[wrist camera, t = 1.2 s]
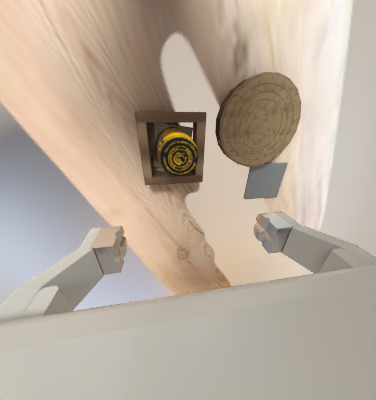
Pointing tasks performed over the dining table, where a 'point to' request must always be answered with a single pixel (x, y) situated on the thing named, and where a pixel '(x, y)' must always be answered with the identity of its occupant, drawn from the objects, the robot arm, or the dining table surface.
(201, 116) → the holder
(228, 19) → the dining table surface
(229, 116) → the round cork trivet
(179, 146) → the condiment
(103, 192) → the dining table surface
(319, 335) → the robot arm
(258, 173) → the coaster
